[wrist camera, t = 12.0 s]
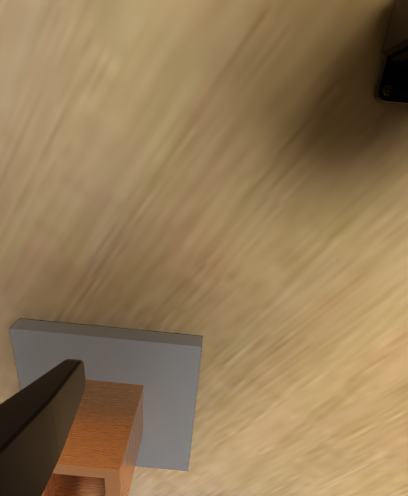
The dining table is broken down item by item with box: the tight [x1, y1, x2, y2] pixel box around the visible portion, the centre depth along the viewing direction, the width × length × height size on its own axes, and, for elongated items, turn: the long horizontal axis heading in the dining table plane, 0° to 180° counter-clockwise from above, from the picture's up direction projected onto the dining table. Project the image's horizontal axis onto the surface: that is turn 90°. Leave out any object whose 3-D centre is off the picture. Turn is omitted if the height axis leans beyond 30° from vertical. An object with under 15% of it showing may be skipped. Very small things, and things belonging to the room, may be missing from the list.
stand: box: [9, 319, 203, 471], centre depth 21 cm, size 14×14×5 cm
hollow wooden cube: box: [42, 380, 144, 496], centre depth 20 cm, size 6×6×6 cm
